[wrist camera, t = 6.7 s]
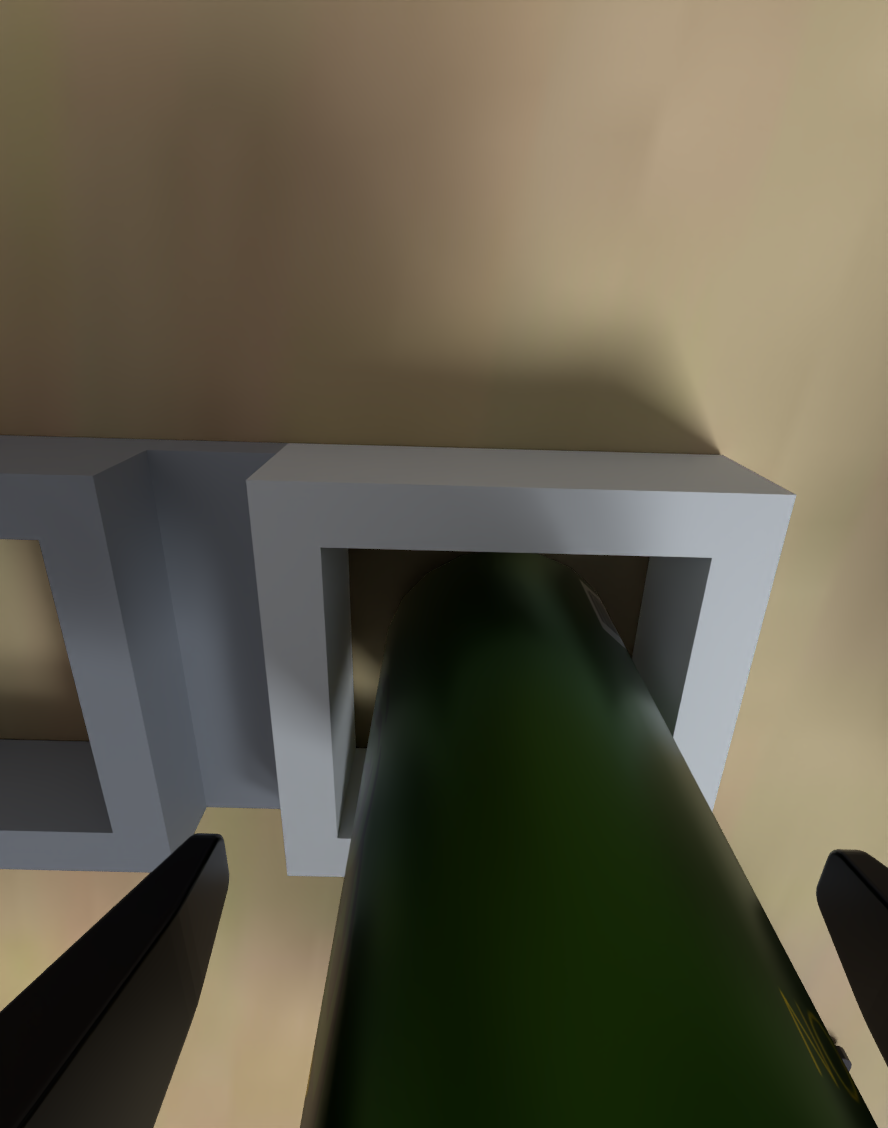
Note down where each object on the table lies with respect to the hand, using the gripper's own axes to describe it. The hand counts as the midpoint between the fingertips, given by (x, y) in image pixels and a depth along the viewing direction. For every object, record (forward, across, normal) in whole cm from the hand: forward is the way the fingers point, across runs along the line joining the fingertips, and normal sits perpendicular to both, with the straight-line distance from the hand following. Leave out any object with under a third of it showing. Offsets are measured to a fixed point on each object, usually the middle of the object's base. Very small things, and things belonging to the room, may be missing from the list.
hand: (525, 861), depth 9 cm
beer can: (+7, 0, 0) cm, 7 cm away
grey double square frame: (+6, +6, 0) cm, 9 cm away
